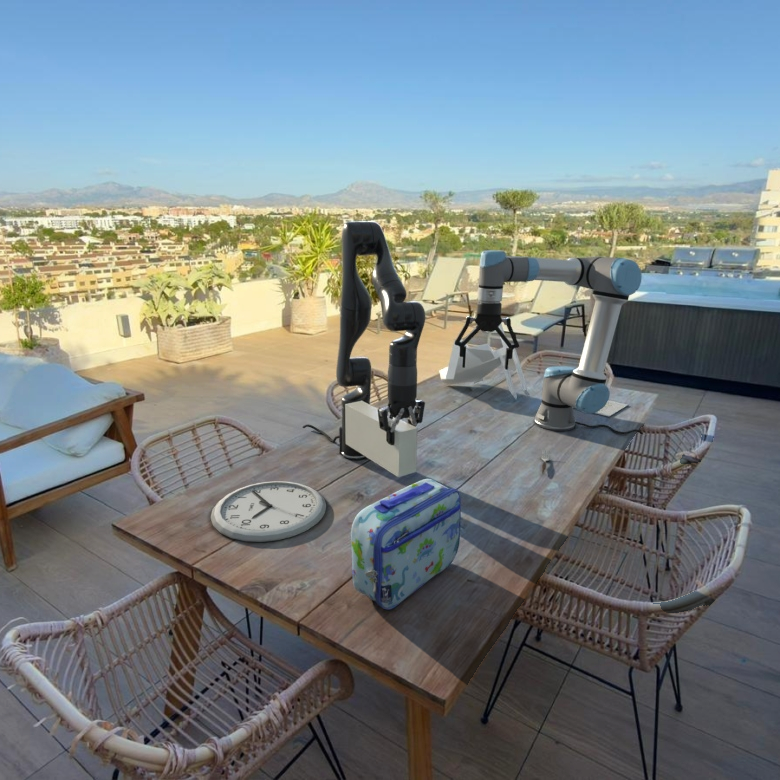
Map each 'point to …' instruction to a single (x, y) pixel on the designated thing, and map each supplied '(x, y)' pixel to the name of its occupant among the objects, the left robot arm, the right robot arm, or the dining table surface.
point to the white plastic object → (480, 365)
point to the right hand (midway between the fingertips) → (484, 367)
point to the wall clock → (268, 511)
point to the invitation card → (611, 408)
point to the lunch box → (405, 541)
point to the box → (380, 439)
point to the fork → (545, 460)
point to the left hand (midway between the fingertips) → (400, 441)
